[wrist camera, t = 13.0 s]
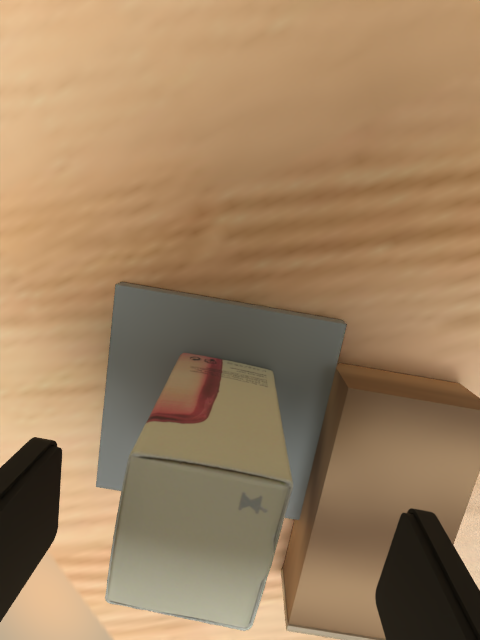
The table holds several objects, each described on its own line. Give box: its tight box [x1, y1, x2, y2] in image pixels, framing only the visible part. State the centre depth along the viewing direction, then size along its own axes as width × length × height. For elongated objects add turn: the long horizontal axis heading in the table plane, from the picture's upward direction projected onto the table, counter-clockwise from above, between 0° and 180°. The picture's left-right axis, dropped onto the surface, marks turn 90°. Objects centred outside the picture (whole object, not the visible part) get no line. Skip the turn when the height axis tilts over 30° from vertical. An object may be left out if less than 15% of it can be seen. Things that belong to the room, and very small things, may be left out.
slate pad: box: [96, 282, 347, 520], centre depth 18 cm, size 10×10×1 cm
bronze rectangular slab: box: [281, 363, 480, 640], centre depth 18 cm, size 12×6×3 cm, turn 170°
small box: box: [105, 353, 293, 631], centre depth 14 cm, size 5×4×8 cm
